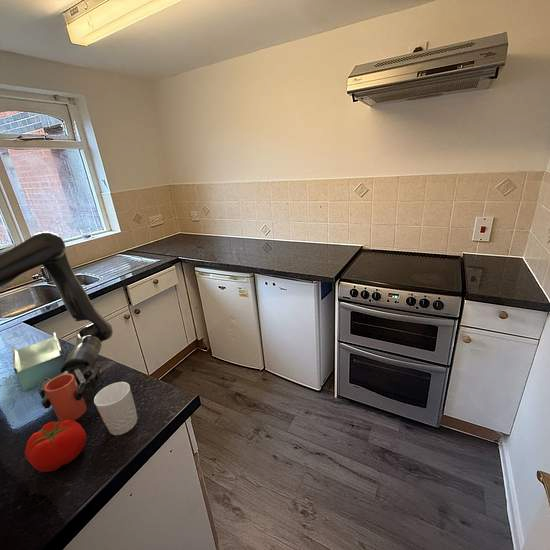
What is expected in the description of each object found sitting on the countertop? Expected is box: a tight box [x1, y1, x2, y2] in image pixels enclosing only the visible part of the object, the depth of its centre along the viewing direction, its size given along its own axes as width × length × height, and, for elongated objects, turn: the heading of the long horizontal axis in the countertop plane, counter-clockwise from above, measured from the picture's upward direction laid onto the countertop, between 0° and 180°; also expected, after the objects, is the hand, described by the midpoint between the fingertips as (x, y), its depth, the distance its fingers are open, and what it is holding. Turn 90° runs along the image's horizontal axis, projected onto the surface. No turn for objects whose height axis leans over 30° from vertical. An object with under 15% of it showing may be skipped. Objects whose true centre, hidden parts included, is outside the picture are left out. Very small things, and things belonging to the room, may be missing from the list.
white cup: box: [93, 381, 139, 436], centre depth 74 cm, size 8×8×10 cm
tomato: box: [24, 420, 87, 473], centre depth 66 cm, size 11×11×9 cm
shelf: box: [12, 332, 66, 392], centre depth 99 cm, size 16×12×8 cm
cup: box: [44, 374, 88, 422], centre depth 75 cm, size 6×6×10 cm
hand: (61, 401), depth 72 cm, fingers closed on cup, 6 cm apart
